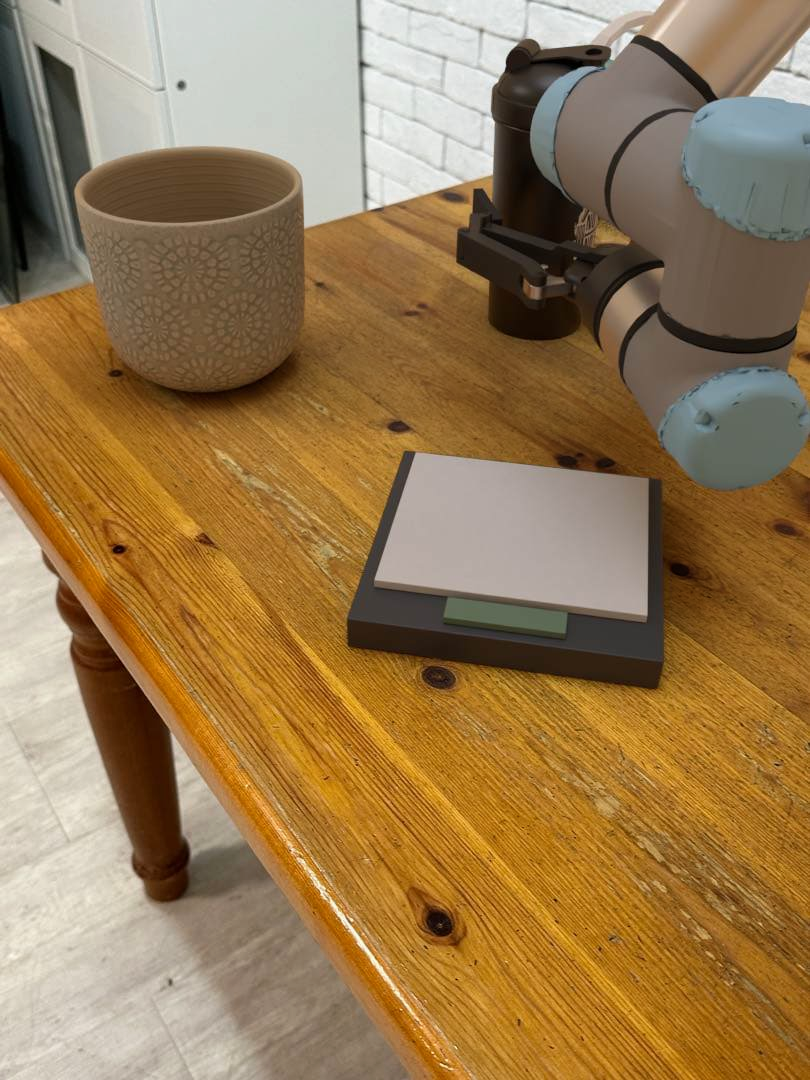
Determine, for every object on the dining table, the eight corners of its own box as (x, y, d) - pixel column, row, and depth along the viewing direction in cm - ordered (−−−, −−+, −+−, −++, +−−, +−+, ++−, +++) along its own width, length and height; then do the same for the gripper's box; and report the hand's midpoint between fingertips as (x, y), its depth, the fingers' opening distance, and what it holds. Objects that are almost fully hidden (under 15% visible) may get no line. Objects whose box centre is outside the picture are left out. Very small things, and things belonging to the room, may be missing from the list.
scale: (657, 504, 73) (663, 471, 71) (657, 689, 59) (665, 654, 57) (404, 475, 75) (404, 442, 74) (347, 646, 62) (346, 610, 60)
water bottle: (578, 352, 90) (614, 69, 76) (464, 333, 93) (479, 55, 79) (600, 303, 98) (636, 37, 84) (494, 287, 100) (512, 26, 86)
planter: (304, 416, 82) (293, 225, 72) (87, 415, 81) (47, 223, 72) (317, 318, 95) (309, 146, 85) (130, 317, 95) (101, 144, 85)
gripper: (461, 384, 69) (406, 254, 85) (815, 356, 72) (697, 236, 88) (467, 276, 64) (407, 161, 80) (845, 252, 67) (714, 146, 84)
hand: (559, 200), depth 84 cm, fingers open, 13 cm apart
